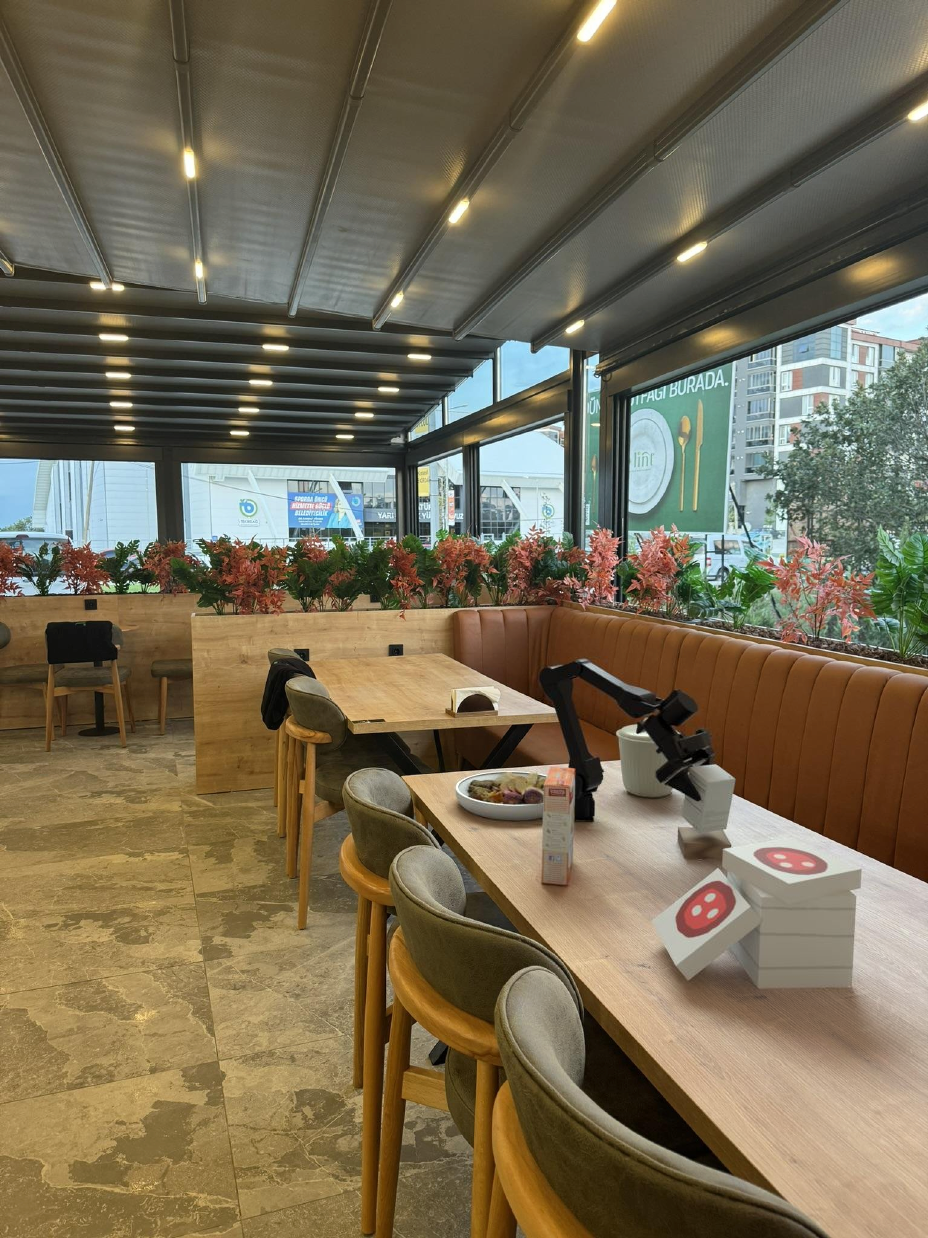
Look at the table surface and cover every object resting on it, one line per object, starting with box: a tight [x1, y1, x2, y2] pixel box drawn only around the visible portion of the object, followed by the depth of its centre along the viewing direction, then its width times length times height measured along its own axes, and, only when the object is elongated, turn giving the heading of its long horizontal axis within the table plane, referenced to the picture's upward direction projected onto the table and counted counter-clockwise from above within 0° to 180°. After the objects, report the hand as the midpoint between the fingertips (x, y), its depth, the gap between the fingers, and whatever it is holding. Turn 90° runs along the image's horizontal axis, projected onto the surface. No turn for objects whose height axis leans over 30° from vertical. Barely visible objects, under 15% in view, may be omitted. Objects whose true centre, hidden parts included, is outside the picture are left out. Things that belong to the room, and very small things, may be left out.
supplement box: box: [681, 764, 737, 833], centre depth 180 cm, size 7×7×13 cm
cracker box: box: [541, 766, 575, 887], centre depth 169 cm, size 14×6×21 cm, turn 168°
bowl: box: [455, 770, 547, 821], centre depth 214 cm, size 30×30×8 cm
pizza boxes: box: [651, 836, 862, 989], centre depth 132 cm, size 19×30×18 cm, turn 92°
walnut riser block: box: [677, 826, 732, 861], centre depth 182 cm, size 10×10×4 cm
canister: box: [615, 717, 682, 798], centre depth 224 cm, size 18×18×21 cm
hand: (709, 795), depth 180 cm, fingers closed on supplement box, 9 cm apart
